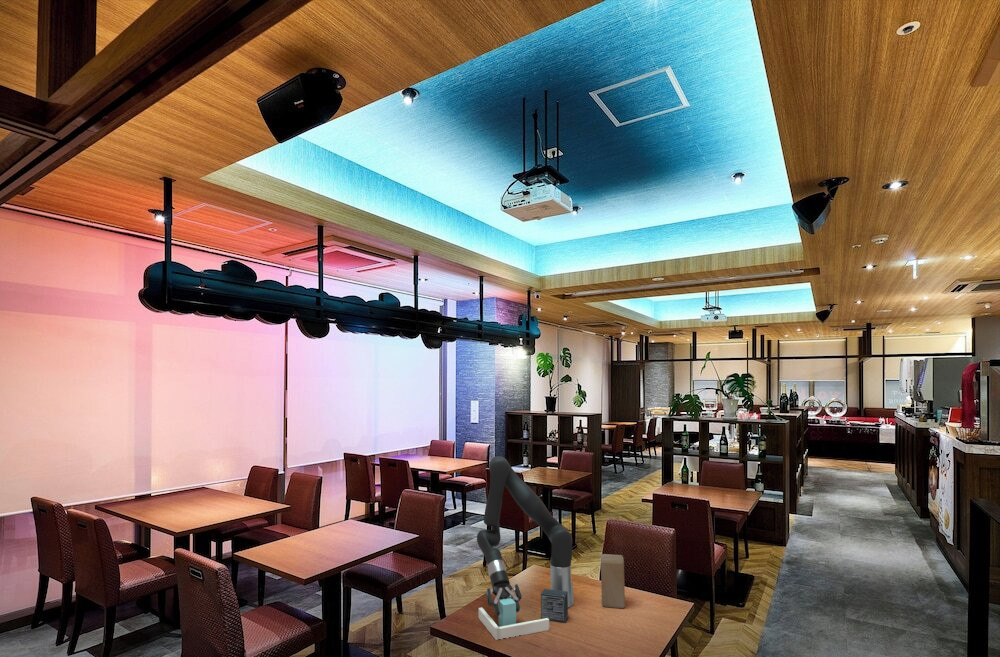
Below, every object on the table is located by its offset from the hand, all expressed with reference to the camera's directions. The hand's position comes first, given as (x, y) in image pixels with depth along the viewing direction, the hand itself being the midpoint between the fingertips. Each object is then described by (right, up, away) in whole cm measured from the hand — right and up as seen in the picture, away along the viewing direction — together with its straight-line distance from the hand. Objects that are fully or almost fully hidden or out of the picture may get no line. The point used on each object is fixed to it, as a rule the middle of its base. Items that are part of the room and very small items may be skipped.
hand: (508, 613), depth 213 cm
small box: (+20, -7, +10) cm, 23 cm away
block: (+47, -9, +24) cm, 54 cm away
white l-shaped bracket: (+2, -7, +4) cm, 8 cm away
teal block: (0, -6, +1) cm, 6 cm away
